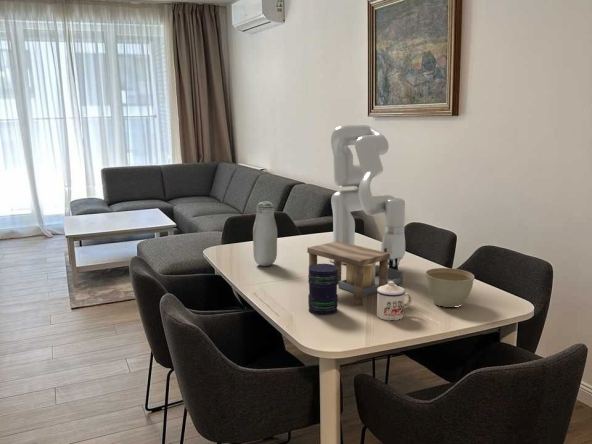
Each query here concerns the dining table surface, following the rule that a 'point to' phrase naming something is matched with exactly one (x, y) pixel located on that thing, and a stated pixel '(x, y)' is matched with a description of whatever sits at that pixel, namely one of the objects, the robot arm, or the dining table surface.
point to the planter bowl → (449, 286)
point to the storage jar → (323, 289)
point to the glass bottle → (265, 235)
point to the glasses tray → (366, 290)
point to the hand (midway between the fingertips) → (393, 274)
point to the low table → (352, 262)
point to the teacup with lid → (391, 301)
